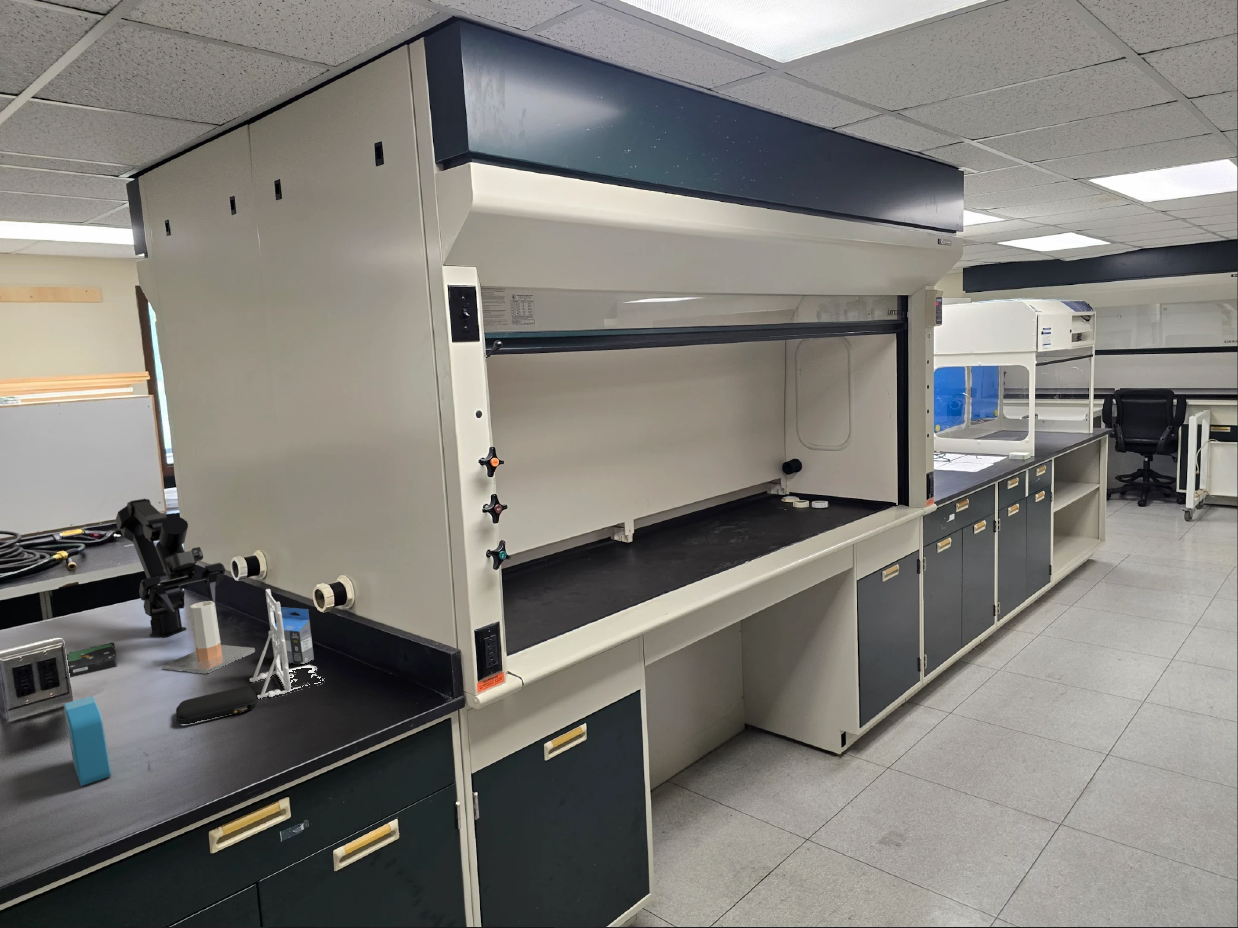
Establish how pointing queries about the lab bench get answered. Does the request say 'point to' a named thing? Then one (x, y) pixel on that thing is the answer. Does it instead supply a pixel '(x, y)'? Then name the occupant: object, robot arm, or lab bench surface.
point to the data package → (87, 740)
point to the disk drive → (92, 659)
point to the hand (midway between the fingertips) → (194, 608)
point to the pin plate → (208, 666)
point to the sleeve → (205, 630)
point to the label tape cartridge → (297, 635)
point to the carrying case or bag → (216, 705)
